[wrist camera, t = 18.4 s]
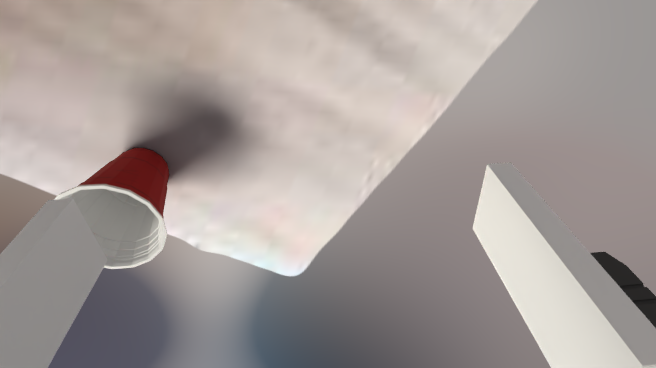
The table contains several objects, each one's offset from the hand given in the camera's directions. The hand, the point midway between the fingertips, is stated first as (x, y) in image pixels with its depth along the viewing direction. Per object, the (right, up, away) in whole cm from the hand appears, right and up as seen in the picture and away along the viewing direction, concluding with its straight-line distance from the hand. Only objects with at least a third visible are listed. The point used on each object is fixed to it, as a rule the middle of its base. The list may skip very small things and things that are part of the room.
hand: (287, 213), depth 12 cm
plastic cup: (-21, +3, +34) cm, 40 cm away
